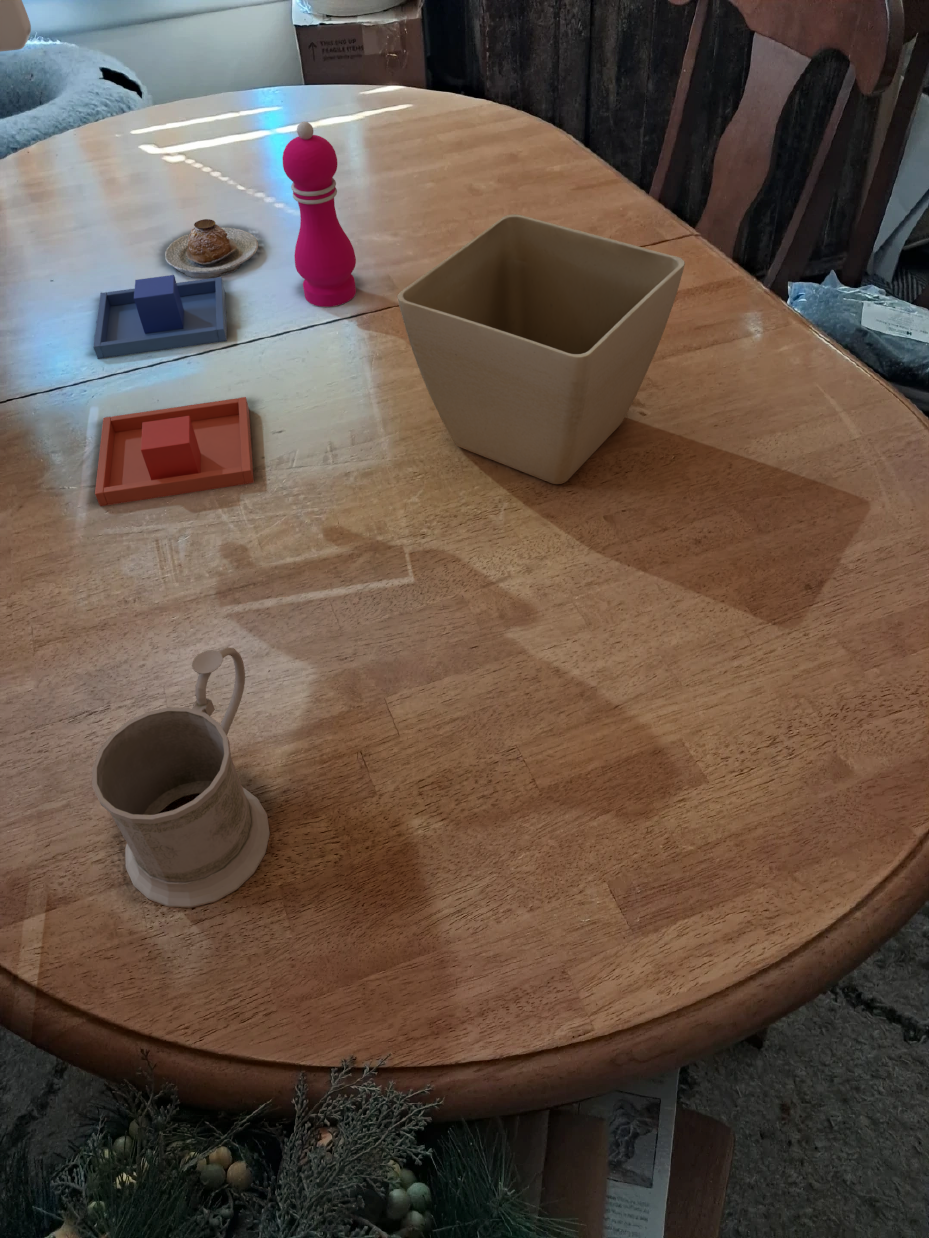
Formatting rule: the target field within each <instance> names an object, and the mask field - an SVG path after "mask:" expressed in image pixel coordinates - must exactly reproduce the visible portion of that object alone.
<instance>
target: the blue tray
mask: <svg viewBox="0 0 929 1238" xmlns="http://www.w3.org/2000/svg"><path fill="white" fill-rule="evenodd" d="M176 283H177V287H178V291H179V294H180V298H181V301H182V305H183V309H184V322H183V328H182V329H175V330H168V331H161V332H153V333H146V334H145V333H144V330H143V327H142V323H141V320H140V317H139V314H138V311H137V308H136V304H135V301H134V290H135V288H128V289H127V288H126V289H120V290H112V291H107V292H106V291H105V292H100V295H99V302H98V308H97V315H96V323H95V330H94V331H95V332H94V339H93V346H92V347H93V350H94V353H95V356H96V359H97V360H102V359H109V358H116V357H121V356H122V357H123V356H129V355H136V354H138V355H139V354H144V353H151V352H158V351H166V350H172V349H180V348H186V347H194V346H202V345H208V344H209V345H210V344H216V343H223V342H228V339H227V331H228V325H227V304H226V303H227V301H226V300H227V299H226V298H227V297H226V288H225V285H224V282H223V277H222V276H217V277H209V278H201V279H196V280H188V281H180V282H176Z"/></svg>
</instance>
